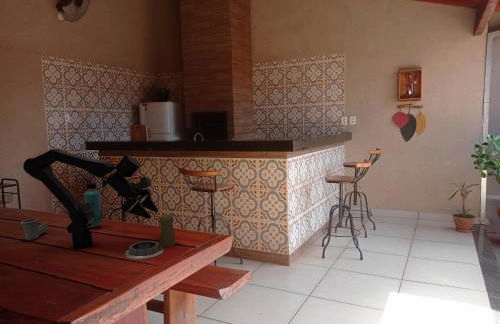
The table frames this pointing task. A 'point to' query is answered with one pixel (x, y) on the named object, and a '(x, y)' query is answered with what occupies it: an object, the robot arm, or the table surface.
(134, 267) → the table surface
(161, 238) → the cork
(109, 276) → the table surface
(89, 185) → the beverage bottle
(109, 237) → the table surface
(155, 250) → the iron collar
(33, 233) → the pipe
